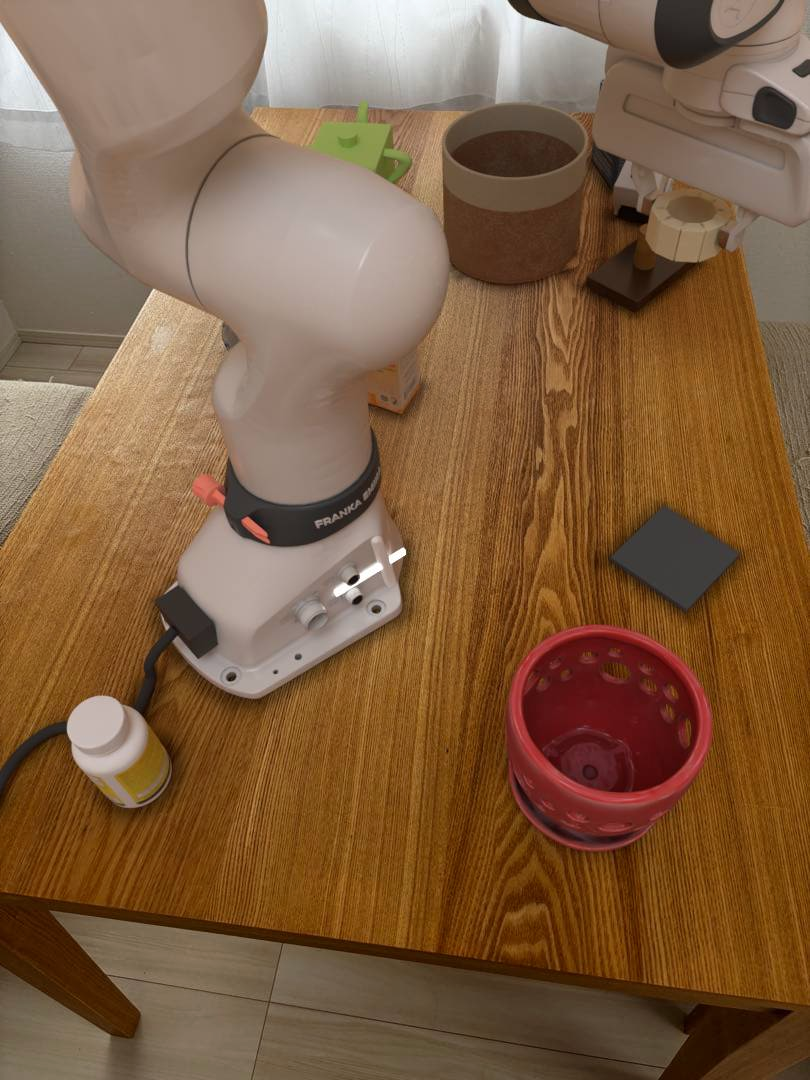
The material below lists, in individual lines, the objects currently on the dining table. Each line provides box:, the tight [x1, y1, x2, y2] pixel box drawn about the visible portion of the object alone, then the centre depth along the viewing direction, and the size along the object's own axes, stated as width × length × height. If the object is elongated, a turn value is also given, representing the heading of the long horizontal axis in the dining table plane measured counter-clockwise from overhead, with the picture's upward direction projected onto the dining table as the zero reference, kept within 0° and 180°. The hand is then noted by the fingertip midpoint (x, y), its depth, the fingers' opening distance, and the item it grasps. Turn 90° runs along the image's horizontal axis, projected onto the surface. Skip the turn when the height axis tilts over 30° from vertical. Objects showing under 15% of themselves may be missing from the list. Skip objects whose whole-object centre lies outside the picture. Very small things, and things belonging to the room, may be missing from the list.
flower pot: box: [504, 624, 714, 853], centre depth 61 cm, size 13×13×12 cm
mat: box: [609, 505, 741, 614], centre depth 76 cm, size 8×8×1 cm
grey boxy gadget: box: [611, 160, 675, 224], centre depth 104 cm, size 6×7×10 cm
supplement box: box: [367, 345, 420, 415], centre depth 86 cm, size 8×5×13 cm, turn 64°
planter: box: [441, 101, 589, 285], centre depth 100 cm, size 16×16×14 cm
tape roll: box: [646, 188, 733, 263], centre depth 75 cm, size 6×7×3 cm
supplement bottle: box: [66, 695, 173, 809], centre depth 64 cm, size 5×5×10 cm
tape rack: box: [585, 223, 698, 314], centre depth 98 cm, size 12×7×6 cm, turn 135°
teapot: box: [302, 100, 413, 186], centre depth 107 cm, size 15×13×11 cm
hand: (687, 228), depth 75 cm, fingers closed on tape roll, 6 cm apart
